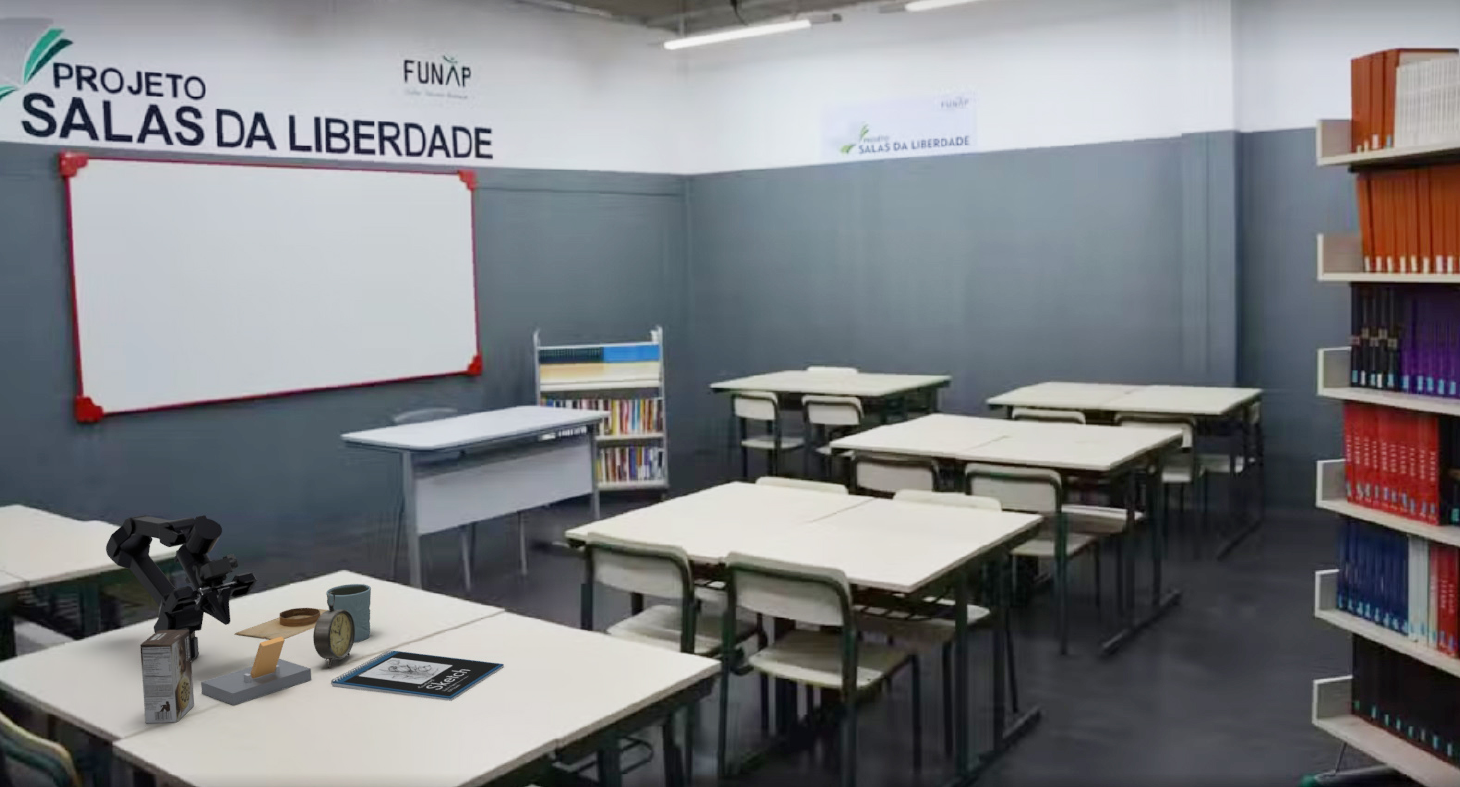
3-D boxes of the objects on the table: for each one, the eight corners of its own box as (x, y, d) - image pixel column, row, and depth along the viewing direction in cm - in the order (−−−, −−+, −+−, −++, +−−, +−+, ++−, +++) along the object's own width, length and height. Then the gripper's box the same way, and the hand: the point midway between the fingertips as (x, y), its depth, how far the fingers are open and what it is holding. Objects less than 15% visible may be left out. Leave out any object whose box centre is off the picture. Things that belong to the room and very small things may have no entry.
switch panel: (201, 693, 240) (200, 675, 240) (279, 669, 255) (278, 651, 254) (233, 705, 233) (232, 686, 233) (311, 679, 248) (310, 661, 247)
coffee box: (162, 706, 233) (157, 629, 231) (195, 705, 233) (190, 628, 232) (143, 724, 224) (138, 643, 222) (177, 722, 224) (172, 642, 223)
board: (306, 609, 303) (306, 597, 303) (352, 615, 298) (351, 603, 297) (232, 637, 281) (232, 624, 280) (280, 644, 275) (279, 631, 274)
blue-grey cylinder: (381, 635, 278) (379, 587, 277) (347, 646, 270) (345, 597, 269) (353, 629, 284) (351, 581, 283) (319, 640, 275) (317, 591, 274)
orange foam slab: (249, 675, 241) (259, 642, 237) (271, 668, 245) (281, 636, 241) (252, 678, 240) (262, 646, 237) (274, 672, 244) (284, 640, 241)
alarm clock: (332, 670, 253) (328, 599, 252) (310, 669, 254) (306, 598, 253) (357, 654, 264) (354, 586, 262) (336, 653, 265) (333, 585, 263)
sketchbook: (451, 704, 234) (450, 694, 234) (328, 689, 244) (328, 679, 244) (504, 669, 255) (503, 660, 254) (388, 656, 264) (388, 647, 264)
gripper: (168, 553, 242) (199, 612, 237) (250, 536, 257) (280, 592, 252) (151, 583, 248) (181, 642, 243) (232, 565, 263) (262, 620, 258)
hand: (228, 623), depth 249 cm, fingers closed
